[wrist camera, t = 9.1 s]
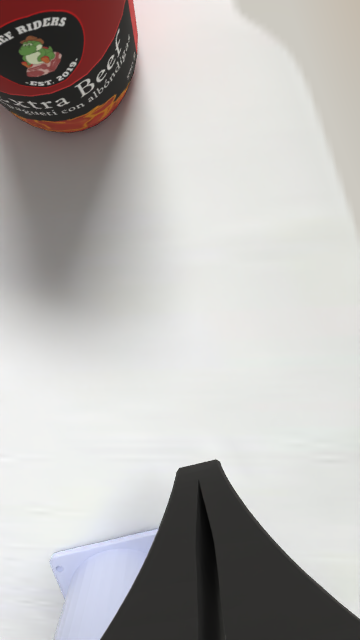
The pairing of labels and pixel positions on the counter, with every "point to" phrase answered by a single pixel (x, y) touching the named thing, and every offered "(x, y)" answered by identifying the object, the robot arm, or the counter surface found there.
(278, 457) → the counter surface
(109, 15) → the canned food
